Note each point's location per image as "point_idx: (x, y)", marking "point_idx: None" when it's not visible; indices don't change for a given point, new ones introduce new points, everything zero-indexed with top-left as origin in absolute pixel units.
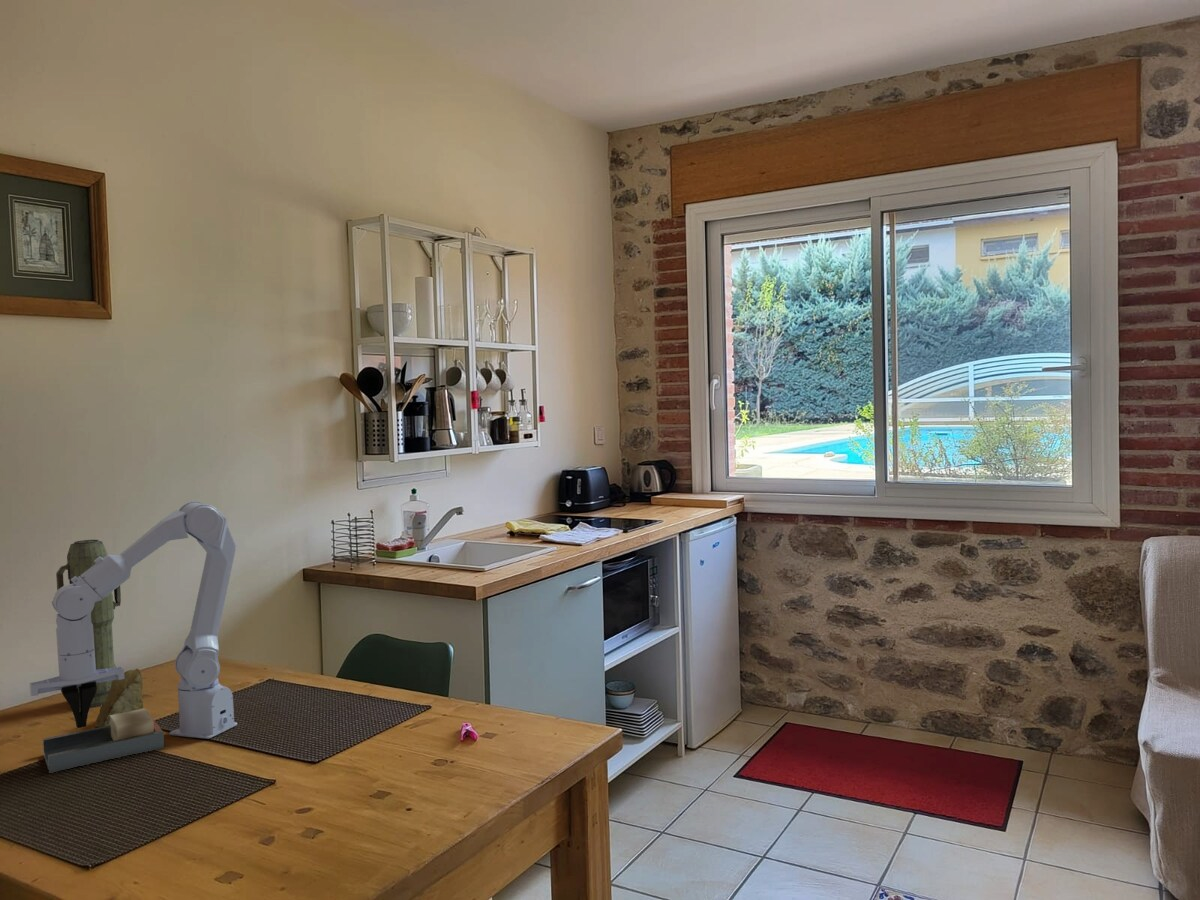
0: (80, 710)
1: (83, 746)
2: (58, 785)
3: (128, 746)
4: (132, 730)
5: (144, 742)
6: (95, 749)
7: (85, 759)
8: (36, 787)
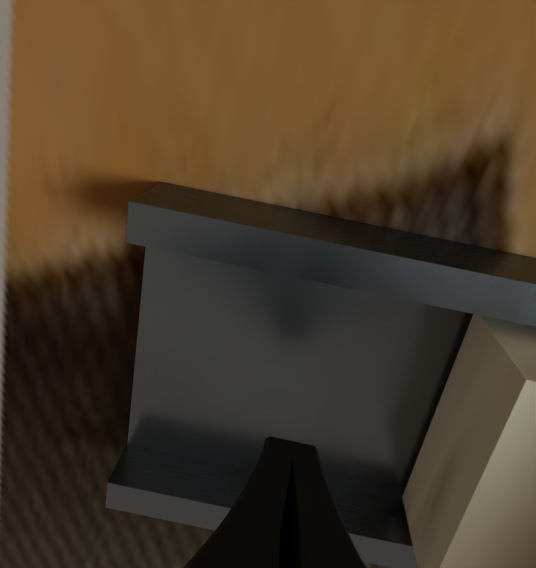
0: (293, 521)
1: (318, 317)
2: (137, 563)
3: None
4: None
5: None
6: None
7: None
8: (76, 527)
